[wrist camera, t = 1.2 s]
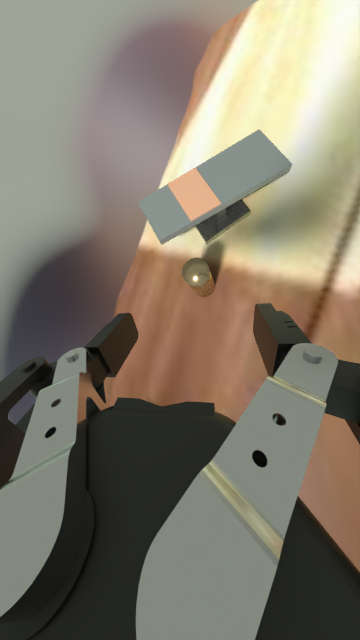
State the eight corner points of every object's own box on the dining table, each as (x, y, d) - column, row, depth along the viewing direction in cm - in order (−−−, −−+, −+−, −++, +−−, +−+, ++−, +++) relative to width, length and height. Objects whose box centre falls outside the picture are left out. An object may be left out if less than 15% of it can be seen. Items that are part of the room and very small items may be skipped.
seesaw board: (257, 137, 31) (259, 127, 30) (288, 171, 29) (292, 162, 27) (140, 207, 32) (137, 201, 31) (161, 244, 30) (159, 239, 29)
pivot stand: (219, 175, 36) (217, 153, 31) (249, 214, 33) (251, 196, 28) (181, 205, 38) (174, 188, 33) (206, 244, 35) (202, 231, 31)
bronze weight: (208, 272, 34) (200, 252, 26) (218, 289, 33) (214, 274, 25) (190, 284, 35) (177, 267, 27) (200, 300, 34) (189, 289, 26)
